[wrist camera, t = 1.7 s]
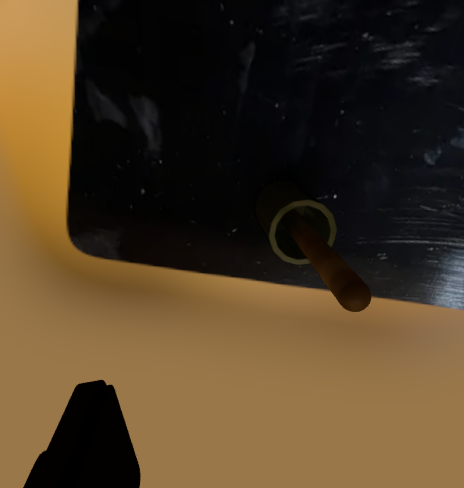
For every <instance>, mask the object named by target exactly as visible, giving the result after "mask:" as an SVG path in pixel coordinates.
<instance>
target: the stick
mask: <svg viewBox="0 0 464 488" xmlns="http://www.w3.org/2000/svg"><path fill="white" fill-rule="evenodd" d="M280 221H281V222H282V223H283V225H284V226H285V228H286V229H287V230H288V232H289V233H290V235H291V236H292V237H293V239H294V240H295V242H296V243H297V244H298V246H299V247H300V249H301V250H302V251H303V253H304V254H305V256H306V257H307V258H308V260H309V261H310V263H311V264H312V265H313V267H314V268H315V269H316V271H317V272H318V274H319V275H320V276H321V278H322V279H323V281H324V282H325V283H326V285H327V286H328V288H329V289H330V290H331V292H332V293H333V295H334V296H335V297H336V299H337V300H338V302H339V303H340V304H341V305H342V306H343V308H345V309H346V310H348V311H352V312H359V311H362V310H364V309H365V308H366V307H367V306H368V305H369V304H370V301H371V291H370V289H369V287H368V286H367V285H366V284H365V283H364V281H363V280H362V279H361V278H360V277H359V276H358V275H357V274H356V273H355V272H354V271H353V270H352V269H351V268H350V267H349V266H348V265H347V263H346V262H345V261H344V260H343V259H342V258H341V257H340V256H339V255H338V254H337V253H336V252H335V251H334V250H333V249H332V248H331V247H330V245H329V244H328V243H327V242H326V241H325V240H324V239H323V238H322V237H321V236H320V235H319V234H318V233H317V232H316V231H315V230H314V229H313V227H312V226H311V225H310V224H309V223H308V222H307V221H306V220H305V219H304V218H303V217H302V216H301V215H300V214H299V213H298V212H297V211H296V209H295V208H293V209H291V210H290V211H288V212H287V213H285V214H284V215H283V216H282V218H281V219H280Z"/></svg>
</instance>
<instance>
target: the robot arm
mask: <svg viewBox="0 0 464 488" xmlns="http://www.w3.org/2000/svg"><path fill="white" fill-rule="evenodd" d="M139 487H140V468H139V464H138V461H137V458H136V455H135V452H134V448H133V445H132V442H131V439H130V436H129V433H128V430H127V426H126V423H125V420H124V417H123V414H122V411H121V408H120V404H119V401H118V398H117V395H116V392H115V389H114V387H113V385H106V383H105V382H104V380H98V381H93V382H87V383H81V384H78V385H77V386H76V387H75V389H74V391H73V393H72V396H71V398H70V400H69V402H68V405H67V407H66V409H65V411H64V413H63V415H62V418H61V420H60V422H59V424H58V426H57V428H56V431H55V433H54V435H53V437H52V439H51V442H50V444H49V446H48V448H47V450H46V451H44V452H42V453H41V454H40V455H39V457H38V458H37V460H36V462H35V464H34V466H33V468H32V470H31V472H30V474H29V476H28V479H27V481H26V483H25V485H24V487H23V488H139Z"/></svg>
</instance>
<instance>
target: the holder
mask: <svg viewBox="0 0 464 488" xmlns="http://www.w3.org/2000/svg"><path fill="white" fill-rule="evenodd" d="M293 208H295V209H296V211H297V212H298V213H299V214H300V215H301V216H302V217H303V218H304V219H305V220H306V221H307V222H308V223H309V224H310V225H311V226H312V227H313V229H314V230H315V231H316V232H317V233H318V234H319V235H320V236H321V237H322V238H323V239H324V240H325V241H326V242H327V243H328V244H329V245H330V247H331V246H332V245H333V243H334V239H335V235H336V230H337V228H336V224H335V220H334V216H333V214H332V213H331V212H330V211H329V210H328V209H327V208H326V207H325V205H324V204H322V203H321V202H320V201H318V200H317V199H316V198H315V197H313V196H312V195H311V194H309V193H308V192H307V191H305V190H304V189H303V188H302V187H300V186H299V185H297V184H295V183H292V182H289V181H278V182H274V183H272V184H270V185H268V186H267V187H265V188H264V189H263V190H262V191H261V193H260V194H259V196H258V198H257V201H256V205H255V212H256V216H257V219H258V222H259V224H260V226H261V228H262V230H263V232H264V234H265V236H266V238H267V240H268V242H269V244H270V246H271V248H272V250H273V251H274V252H275V253H276V254H277V255H278V256H279V257H280V258H281V259H282V260H283V261H286V262H289V263H292V264H295V265H301V264H309V263H310V261H309V260H308V258H307V257H306V256H305V254H304V253H303V251H302V250H301V249H300V247H299V246H298V244H297V243H296V242H295V240H294V239H293V237H292V236H291V235H290V233H289V232H288V230H287V229H286V228H285V226H284V225H283V223H282V222H281V221H280V219H281V218H282V216H283V215H284V214H285V213H287V212H288V211H290V210H291V209H293Z"/></svg>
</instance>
